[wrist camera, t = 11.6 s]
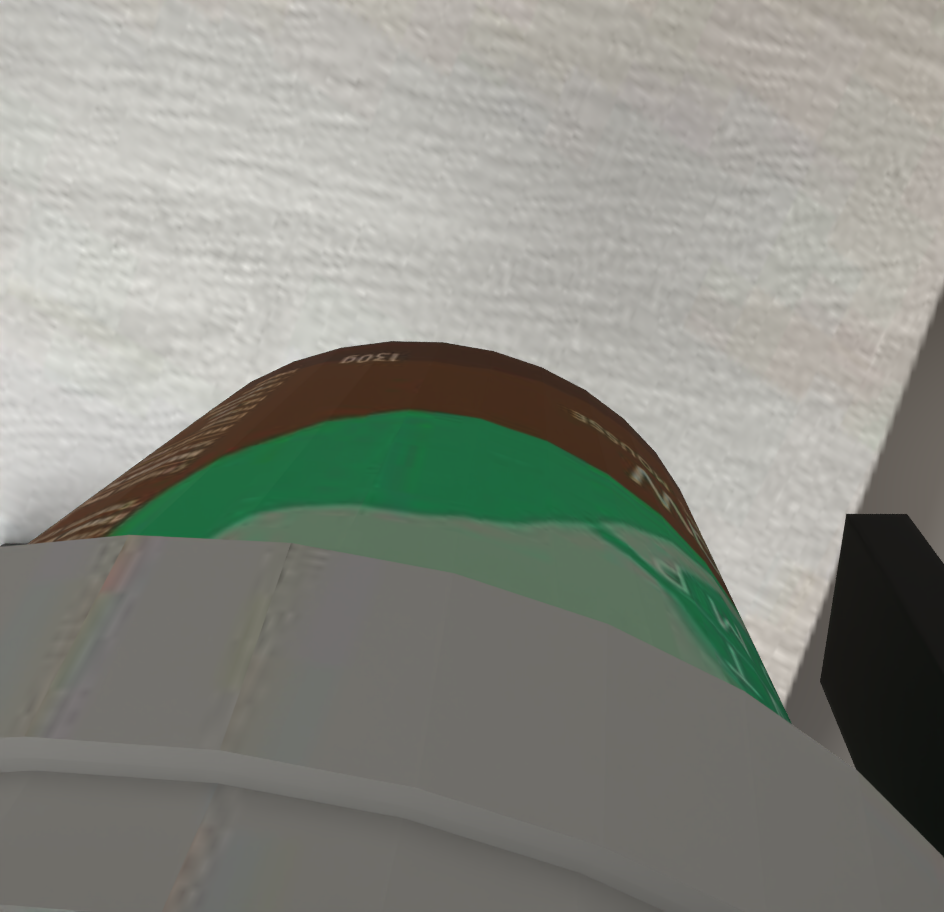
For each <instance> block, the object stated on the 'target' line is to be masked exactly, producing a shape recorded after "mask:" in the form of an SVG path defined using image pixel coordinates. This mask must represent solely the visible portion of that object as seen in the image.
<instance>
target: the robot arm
mask: <svg viewBox="0 0 944 912" xmlns="http://www.w3.org/2000/svg"><path fill="white" fill-rule="evenodd" d="M820 682H821V685H822V687H823V690H824V692H825V695H826V697H827V700H828V702H829V704H830V707H831V709H832V712H833V714H834V717H835V719H836V721H837V724H838V726H839V728H840V731H841V734H842V736H843V738H844V741H845V743H846V746H847V748H848V751H849V753H850V755H851V758H852V760H853V763H854V765H855V767H856V770H857V771H858V772H859V773H860V774H861V775H862V776H863V777H864V778H865V779H866V780H867V781H868V782H869V783H870V784H871V785H872V786H873V787H874V788H875V789H876V790H877V791H878V792H879V793H880V794H881V795H882V796H883V797H884V798H885V799H886V800H887V801H888V802H889V803H890V804H891V805H892V806H893V807H894V808H895V809H896V810H897V811H898V812H899V813H900V814H901V815H902V816H903V817H904V818H905V819H906V820H907V821H908V822H909V823H910V824H911V825H912V826H913V827H914V828H915V829H916V830H917V831H918V832H919V833H920V834H921V835H922V836H923V837H924V838H925V839H926V840H927V841H928V842H929V843H930V844H931V845H932V846H933V847H934V848H935V849H936V850H937V851H938V852H939V853H940V854H941V855H942V856H943V858H944V564H943V562H942V561H941V560H940V558H939V557H938V556H937V554H936V553H935V551H934V550H933V549H932V547H931V546H930V545H929V543H928V542H927V541H926V539H925V538H924V536H923V535H922V534H921V532H920V531H919V530H918V528H917V527H916V526H915V524H914V523H913V521H912V520H911V519H910V518H909V516H908V515H907V514H846V519H845V526H844V532H843V539H842V545H841V551H840V558H839V564H838V571H837V577H836V583H835V590H834V597H833V603H832V609H831V615H830V622H829V628H828V635H827V641H826V647H825V654H824V660H823V667H822V673H821V679H820Z"/></svg>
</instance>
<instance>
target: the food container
mask: <svg viewBox="0 0 944 912" xmlns="http://www.w3.org/2000/svg"><path fill="white" fill-rule="evenodd" d="M0 912H944V858H943V856H942V855H941V854H940V853H939V852H938V851H937V850H936V849H935V848H934V847H933V846H932V845H931V844H930V843H929V842H928V841H927V840H926V839H925V838H924V837H923V836H922V835H921V834H920V833H919V832H918V831H917V830H916V829H915V828H914V827H913V826H912V825H911V824H910V823H909V822H908V821H907V820H906V819H905V818H904V817H903V816H902V815H901V814H900V813H899V812H898V811H897V810H896V809H895V808H894V807H893V806H892V805H891V804H890V803H889V802H888V801H887V800H886V799H885V798H884V797H883V796H882V795H881V794H880V793H879V792H878V791H877V790H876V789H875V788H874V787H873V786H872V785H871V784H870V783H869V782H868V781H867V780H866V779H865V778H864V777H863V776H862V775H861V774H860V773H859V772H858V771H857V770H856V769H855V768H853V767H852V766H850V765H849V764H847V763H846V762H845V761H843V760H841V759H840V758H839V757H837V756H836V755H835V754H833V753H832V752H830V751H829V750H827V749H826V748H825V747H823V746H822V745H820V744H819V743H817V742H816V741H815V740H813V739H812V738H810V737H809V736H807V735H806V734H805V733H803V732H802V731H800V730H799V729H797V728H796V727H795V726H793V725H792V723H791V721H790V719H789V717H788V715H787V713H786V711H785V709H784V707H783V705H782V702H781V700H780V698H779V696H778V694H777V692H776V690H775V688H774V686H773V684H772V681H771V679H770V677H769V675H768V673H767V671H766V669H765V667H764V665H763V663H762V661H761V658H760V656H759V654H758V652H757V650H756V648H755V646H754V644H753V642H752V640H751V638H750V635H749V633H748V631H747V629H746V627H745V625H744V623H743V621H742V619H741V617H740V614H739V612H738V610H737V608H736V606H735V604H734V602H733V600H732V598H731V596H730V594H729V591H728V589H727V587H726V585H725V583H724V581H723V579H722V577H721V575H720V573H719V570H718V568H717V566H716V564H715V562H714V560H713V558H712V556H711V554H710V552H709V550H708V547H707V545H706V543H705V541H704V539H703V537H702V535H701V533H700V531H699V529H698V527H697V524H696V522H695V520H694V518H693V516H692V514H691V512H690V510H689V508H688V506H687V503H686V501H685V499H684V497H683V495H682V493H681V491H680V489H679V487H678V486H677V484H676V483H675V481H674V480H673V478H672V477H671V475H670V474H669V472H668V471H667V469H666V468H665V466H664V464H663V463H662V461H661V460H660V458H659V457H658V455H657V454H656V452H655V451H654V450H653V449H652V448H651V447H650V446H649V445H648V444H647V443H646V442H645V441H644V440H643V439H642V438H641V436H640V435H639V434H638V433H637V432H636V431H635V430H634V429H633V428H632V427H631V426H630V425H629V424H628V423H627V422H626V421H625V420H624V419H623V418H622V417H621V416H619V415H618V414H617V413H615V412H614V411H613V410H611V409H610V408H609V407H607V406H606V405H605V404H603V403H602V402H601V401H599V400H598V399H597V398H595V397H594V396H593V395H591V394H590V393H589V392H587V391H586V390H584V389H582V388H580V387H578V386H576V385H574V384H572V383H571V382H569V381H567V380H565V379H563V378H561V377H559V376H557V375H555V374H553V373H551V372H549V371H548V370H546V369H544V368H542V367H539V366H536V365H533V364H530V363H527V362H524V361H521V360H518V359H515V358H512V357H509V356H506V355H503V354H500V353H497V352H494V351H489V350H483V349H478V348H472V347H466V346H460V345H455V344H449V343H443V342H400V341H390V342H382V343H375V344H367V345H359V346H352V347H344V348H339V349H335V350H332V351H329V352H325V353H322V354H318V355H315V356H311V357H308V358H305V359H301V360H298V361H294V362H292V363H290V364H288V365H286V366H283V367H281V368H279V369H277V370H275V371H273V372H271V373H269V374H267V375H265V376H262V377H260V378H258V379H256V380H254V381H252V382H250V383H249V384H247V385H246V386H244V387H243V388H242V389H240V390H239V391H237V392H236V393H234V394H233V395H232V396H230V397H229V398H227V399H226V400H225V401H223V402H222V403H220V404H219V405H218V406H216V407H215V408H213V409H212V410H210V411H209V412H208V413H206V414H205V415H204V416H202V417H201V418H199V419H198V420H197V421H195V422H194V423H193V424H191V425H190V426H188V427H187V428H186V429H184V430H183V431H182V432H180V433H179V434H178V435H176V436H175V437H173V438H172V439H171V440H169V441H168V442H167V443H165V444H164V445H162V446H161V447H160V448H158V449H157V450H156V451H154V452H153V453H152V454H150V455H149V456H147V457H146V458H145V459H143V460H142V461H141V462H139V463H138V464H136V465H135V466H134V467H132V468H131V469H130V470H128V471H127V472H125V473H124V474H123V475H121V476H120V477H119V478H117V479H116V480H115V481H113V482H112V483H110V484H109V485H108V486H106V487H105V488H104V489H102V490H101V491H99V492H98V493H97V494H95V495H94V496H93V497H91V498H90V499H88V500H87V501H86V502H84V503H83V504H82V505H80V506H79V507H78V508H76V509H75V510H73V511H72V512H71V513H69V514H68V515H67V516H65V517H64V518H62V519H61V520H60V521H58V522H57V523H56V524H54V525H53V526H51V527H50V528H49V529H47V530H46V531H45V532H43V533H42V534H41V535H39V536H38V537H36V538H35V539H34V540H32V541H31V542H30V543H28V544H26V545H15V546H5V547H0Z"/></svg>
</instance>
